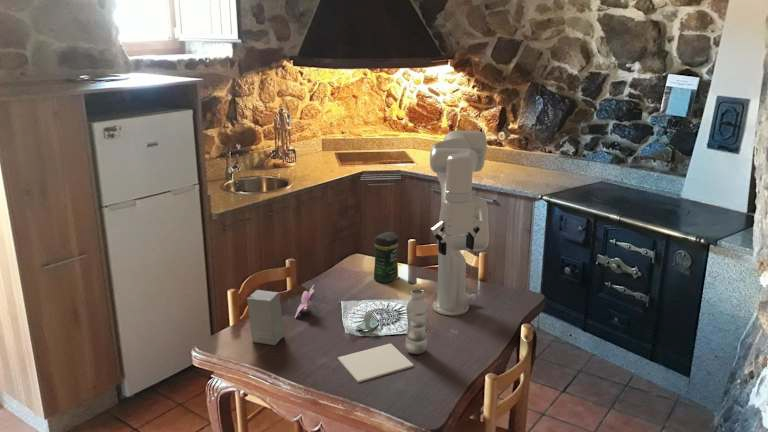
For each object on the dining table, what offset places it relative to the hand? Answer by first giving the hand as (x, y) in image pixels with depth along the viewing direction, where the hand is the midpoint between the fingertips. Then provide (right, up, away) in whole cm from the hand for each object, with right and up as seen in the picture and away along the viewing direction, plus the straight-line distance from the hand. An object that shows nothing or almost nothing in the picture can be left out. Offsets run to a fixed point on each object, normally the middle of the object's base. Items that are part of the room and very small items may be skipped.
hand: (456, 251), depth 184 cm
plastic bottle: (-12, -31, +3) cm, 33 cm away
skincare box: (-59, -29, +10) cm, 66 cm away
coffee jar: (-21, -14, +56) cm, 61 cm away
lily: (-48, -23, +28) cm, 60 cm away
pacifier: (-28, -27, +17) cm, 42 cm away
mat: (-24, -33, -3) cm, 41 cm away
